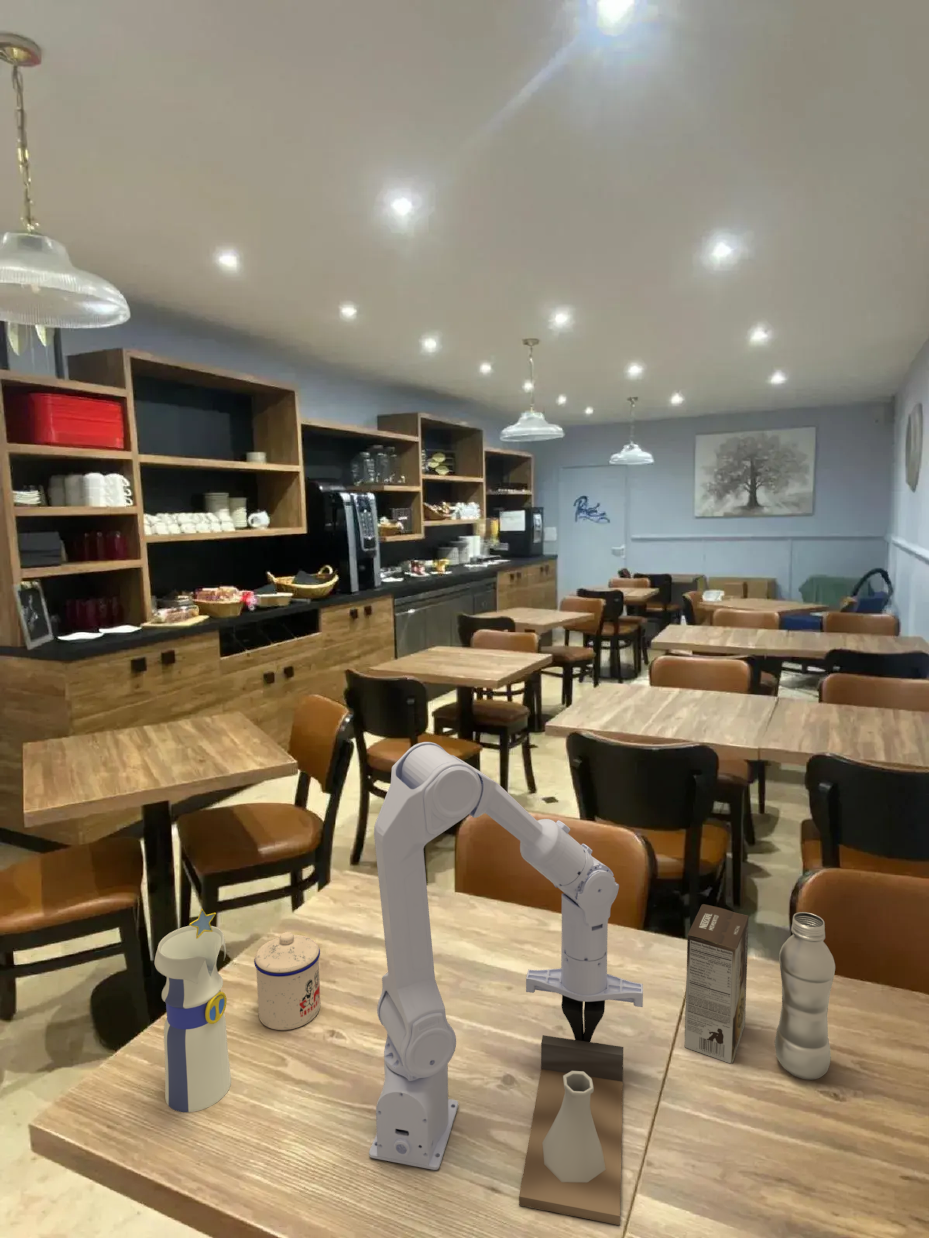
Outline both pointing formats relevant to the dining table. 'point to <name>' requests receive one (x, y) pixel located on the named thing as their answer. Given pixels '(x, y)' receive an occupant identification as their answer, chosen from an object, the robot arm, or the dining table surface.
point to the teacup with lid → (288, 981)
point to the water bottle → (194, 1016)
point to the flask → (574, 1134)
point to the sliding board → (606, 1110)
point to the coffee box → (716, 982)
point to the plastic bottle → (805, 999)
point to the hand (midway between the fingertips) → (583, 1047)
